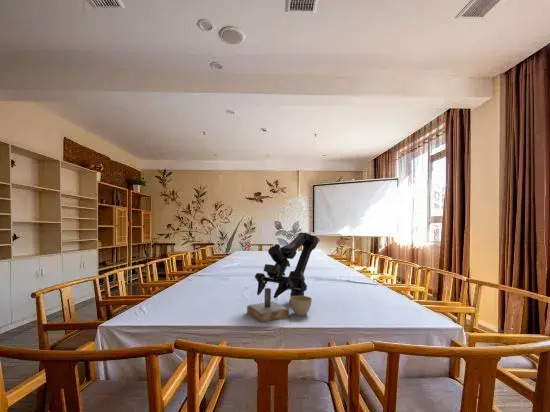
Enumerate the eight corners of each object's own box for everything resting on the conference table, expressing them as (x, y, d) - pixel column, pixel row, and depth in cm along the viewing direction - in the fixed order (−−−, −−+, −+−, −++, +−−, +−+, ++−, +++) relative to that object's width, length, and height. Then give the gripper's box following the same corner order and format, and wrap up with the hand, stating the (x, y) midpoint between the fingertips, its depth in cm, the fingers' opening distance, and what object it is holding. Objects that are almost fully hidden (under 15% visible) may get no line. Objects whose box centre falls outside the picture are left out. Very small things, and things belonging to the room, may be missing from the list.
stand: (273, 308, 140) (273, 302, 140) (288, 317, 128) (288, 310, 128) (247, 312, 133) (247, 306, 133) (260, 322, 121) (260, 314, 121)
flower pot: (310, 318, 126) (310, 301, 126) (288, 316, 128) (288, 300, 128) (312, 311, 136) (312, 296, 136) (291, 310, 138) (291, 294, 138)
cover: (273, 302, 139) (273, 284, 140) (287, 309, 128) (287, 290, 128) (248, 306, 133) (248, 287, 134) (260, 314, 122) (261, 293, 122)
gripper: (257, 256, 140) (241, 282, 131) (289, 259, 130) (275, 288, 120) (266, 270, 146) (252, 296, 137) (298, 274, 136) (286, 303, 126)
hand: (265, 296), depth 130 cm, fingers open, 9 cm apart
